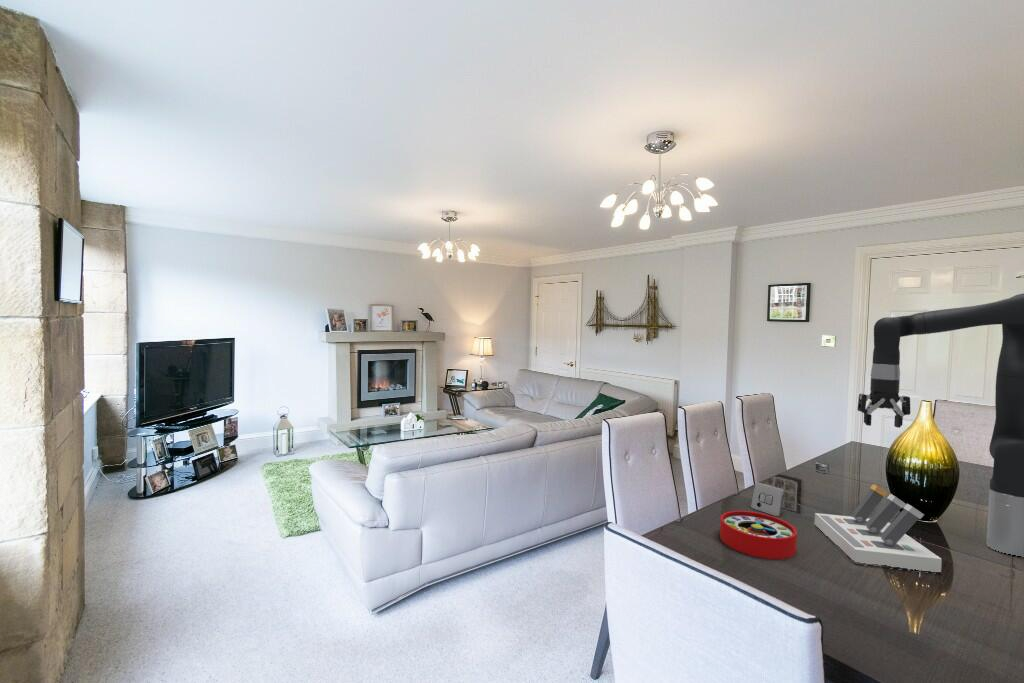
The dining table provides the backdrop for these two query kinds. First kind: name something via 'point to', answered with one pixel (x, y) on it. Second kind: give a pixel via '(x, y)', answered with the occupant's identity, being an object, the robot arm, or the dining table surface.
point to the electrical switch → (767, 499)
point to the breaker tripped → (869, 503)
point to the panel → (875, 544)
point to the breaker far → (901, 525)
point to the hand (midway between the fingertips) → (882, 426)
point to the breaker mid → (884, 514)
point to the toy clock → (758, 534)
